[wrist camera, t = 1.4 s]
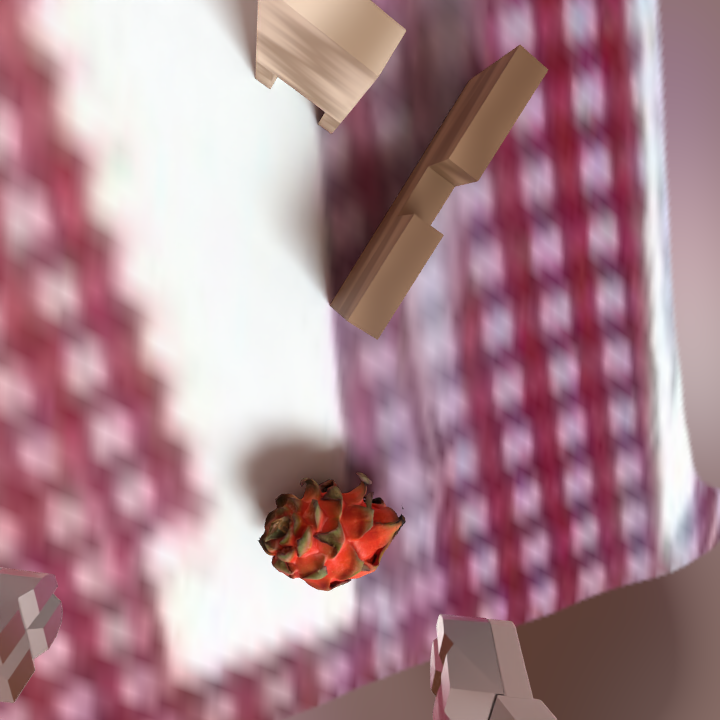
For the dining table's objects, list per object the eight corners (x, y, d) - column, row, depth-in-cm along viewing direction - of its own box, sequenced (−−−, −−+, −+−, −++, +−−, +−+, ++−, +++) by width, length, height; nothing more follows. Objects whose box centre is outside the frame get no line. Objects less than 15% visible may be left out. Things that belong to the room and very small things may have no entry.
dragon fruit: (246, 496, 46) (375, 480, 50) (256, 603, 43) (392, 576, 47) (259, 476, 39) (409, 459, 43) (272, 603, 35) (432, 572, 40)
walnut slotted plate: (329, 305, 42) (347, 321, 34) (468, 80, 40) (520, 44, 33) (354, 320, 43) (377, 339, 35) (492, 100, 41) (548, 69, 33)
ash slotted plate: (255, 78, 37) (258, -19, 23) (273, 47, 37) (287, -69, 23) (331, 134, 39) (378, 76, 25) (348, 105, 39) (406, 30, 25)
